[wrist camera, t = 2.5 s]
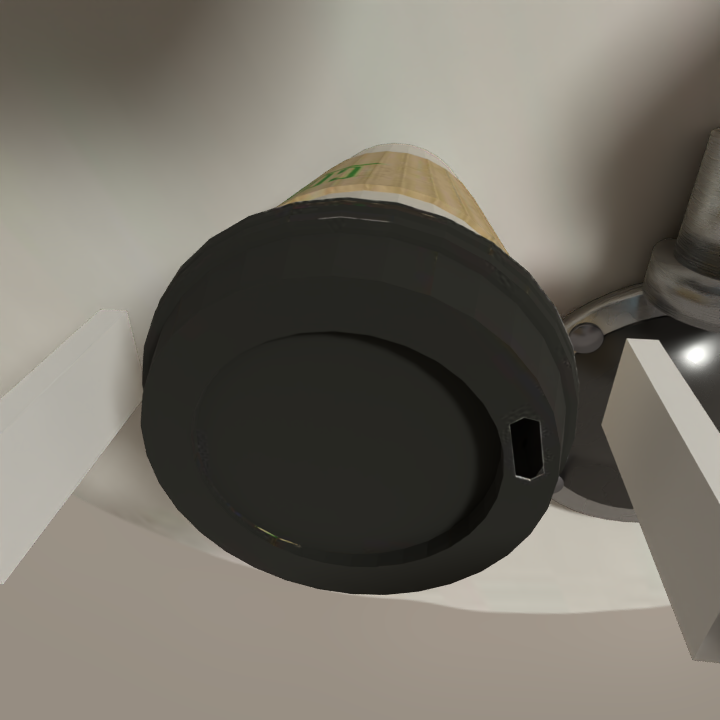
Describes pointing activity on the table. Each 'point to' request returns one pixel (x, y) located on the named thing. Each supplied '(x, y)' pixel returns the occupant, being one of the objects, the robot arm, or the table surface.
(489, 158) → the table surface
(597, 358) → the metal device with knob
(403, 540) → the coffee cup
